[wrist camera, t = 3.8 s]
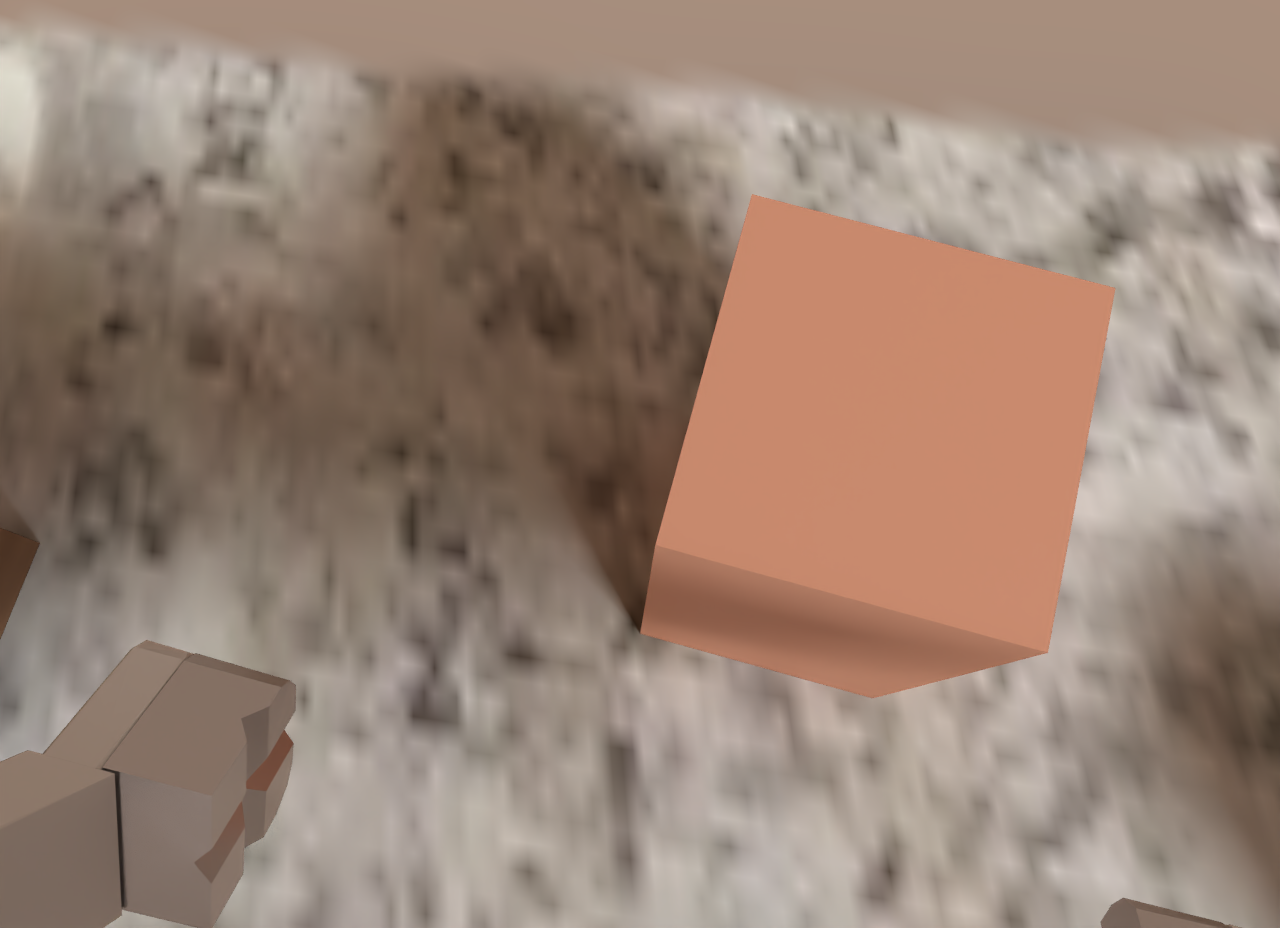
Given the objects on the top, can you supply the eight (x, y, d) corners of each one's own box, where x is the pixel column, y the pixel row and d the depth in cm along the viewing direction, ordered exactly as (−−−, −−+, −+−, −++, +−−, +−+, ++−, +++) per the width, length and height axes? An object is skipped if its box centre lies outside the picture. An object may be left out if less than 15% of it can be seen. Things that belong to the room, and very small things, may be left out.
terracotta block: (872, 698, 21) (1047, 652, 13) (640, 633, 22) (654, 544, 13) (922, 472, 22) (1115, 288, 14) (699, 413, 23) (752, 194, 14)
